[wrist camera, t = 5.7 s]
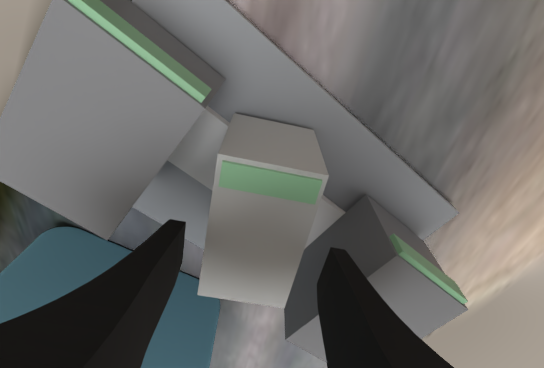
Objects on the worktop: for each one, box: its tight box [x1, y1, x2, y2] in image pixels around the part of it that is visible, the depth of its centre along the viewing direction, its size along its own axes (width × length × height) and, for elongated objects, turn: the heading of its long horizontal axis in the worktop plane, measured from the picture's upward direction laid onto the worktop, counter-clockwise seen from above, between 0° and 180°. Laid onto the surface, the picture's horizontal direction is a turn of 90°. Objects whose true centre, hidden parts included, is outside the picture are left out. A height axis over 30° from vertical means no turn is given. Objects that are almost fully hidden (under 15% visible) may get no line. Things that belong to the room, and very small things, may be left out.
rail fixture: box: [0, 0, 468, 363], centre depth 16 cm, size 20×12×7 cm, turn 50°
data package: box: [0, 227, 220, 368], centre depth 18 cm, size 12×4×12 cm, turn 59°
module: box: [197, 113, 329, 308], centre depth 15 cm, size 4×7×5 cm, turn 168°
